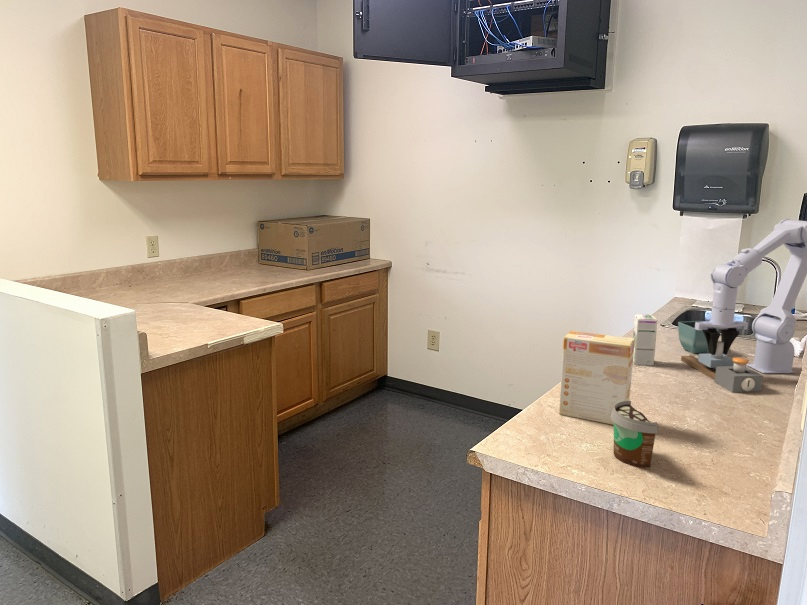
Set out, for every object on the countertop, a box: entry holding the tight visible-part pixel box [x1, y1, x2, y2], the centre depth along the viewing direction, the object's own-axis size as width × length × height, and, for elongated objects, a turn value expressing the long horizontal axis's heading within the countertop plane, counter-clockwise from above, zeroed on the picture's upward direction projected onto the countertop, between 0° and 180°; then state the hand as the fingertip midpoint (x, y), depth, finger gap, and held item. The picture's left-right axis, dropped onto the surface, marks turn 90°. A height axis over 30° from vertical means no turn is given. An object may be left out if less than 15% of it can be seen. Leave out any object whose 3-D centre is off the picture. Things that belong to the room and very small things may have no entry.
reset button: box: [732, 357, 750, 374], centre depth 162 cm, size 4×4×4 cm
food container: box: [611, 400, 658, 469], centre depth 122 cm, size 12×6×10 cm, turn 5°
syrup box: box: [632, 313, 658, 367], centre depth 182 cm, size 6×6×14 cm
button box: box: [714, 366, 764, 393], centre depth 163 cm, size 8×8×4 cm
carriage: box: [698, 340, 734, 368], centre depth 172 cm, size 7×6×7 cm
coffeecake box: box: [558, 330, 635, 426], centre depth 142 cm, size 15×7×20 cm, turn 61°
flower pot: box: [677, 320, 720, 354], centre depth 194 cm, size 9×9×9 cm
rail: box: [680, 352, 716, 381], centre depth 177 cm, size 6×18×2 cm, turn 5°
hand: (717, 353), depth 172 cm, fingers closed on carriage, 3 cm apart
